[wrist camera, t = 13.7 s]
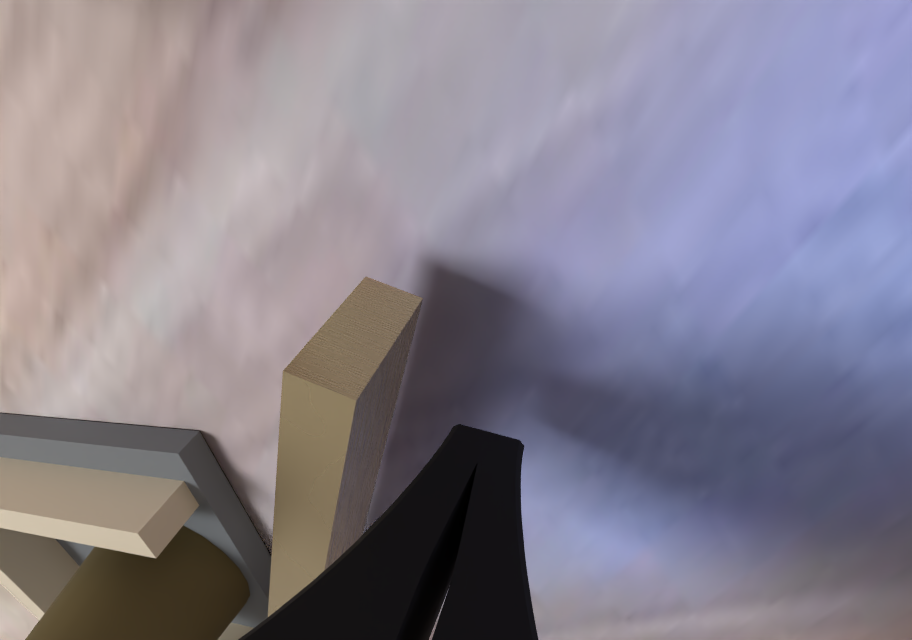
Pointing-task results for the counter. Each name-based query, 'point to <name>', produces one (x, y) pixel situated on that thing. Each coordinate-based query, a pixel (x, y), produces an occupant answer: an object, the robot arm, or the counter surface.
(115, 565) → the brown rounded piece
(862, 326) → the counter surface
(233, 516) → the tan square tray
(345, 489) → the bar
